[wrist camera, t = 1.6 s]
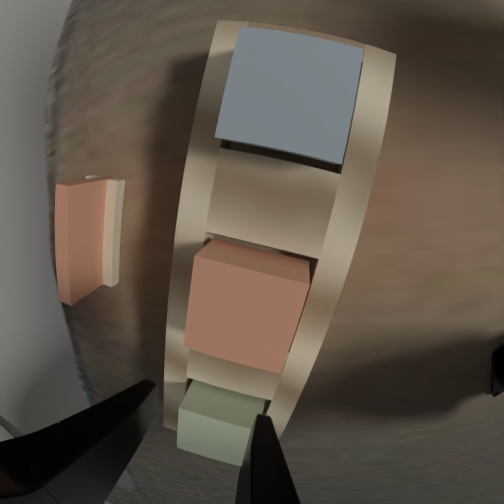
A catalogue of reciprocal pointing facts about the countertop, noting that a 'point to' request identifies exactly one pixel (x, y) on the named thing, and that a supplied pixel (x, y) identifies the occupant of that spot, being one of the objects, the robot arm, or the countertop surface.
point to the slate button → (290, 93)
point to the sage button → (216, 422)
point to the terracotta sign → (87, 235)
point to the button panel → (271, 222)
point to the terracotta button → (245, 304)
